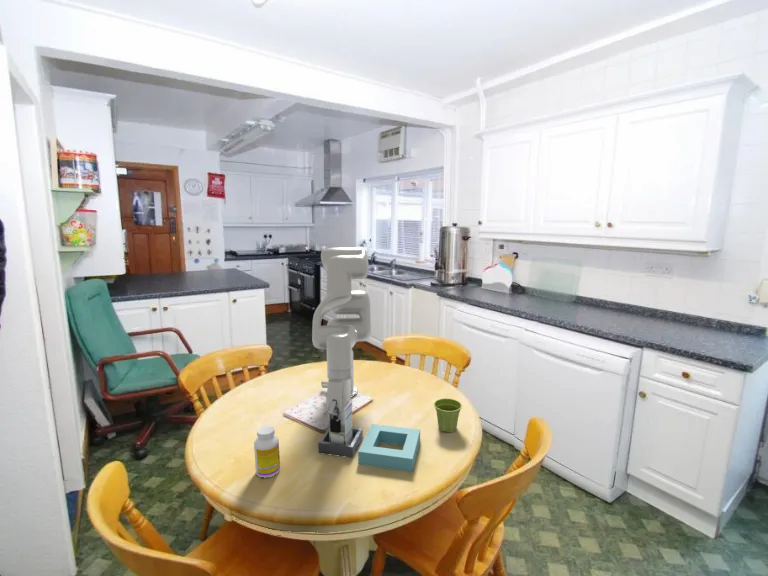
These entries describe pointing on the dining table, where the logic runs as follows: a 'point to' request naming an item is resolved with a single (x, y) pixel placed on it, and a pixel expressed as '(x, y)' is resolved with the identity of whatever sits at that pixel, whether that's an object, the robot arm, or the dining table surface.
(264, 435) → the supplement bottle
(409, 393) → the dining table surface
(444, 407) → the plant pot
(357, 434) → the box stand
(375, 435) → the socket block
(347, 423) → the syrup box
